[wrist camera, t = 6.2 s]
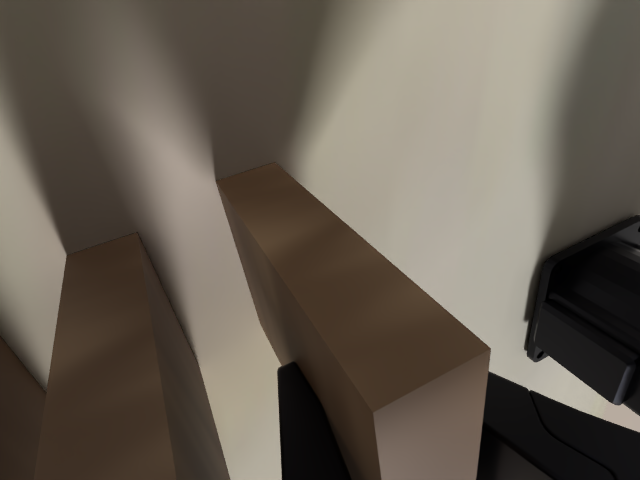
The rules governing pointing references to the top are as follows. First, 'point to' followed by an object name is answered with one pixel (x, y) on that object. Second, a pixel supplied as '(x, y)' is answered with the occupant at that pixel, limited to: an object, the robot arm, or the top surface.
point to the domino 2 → (359, 334)
